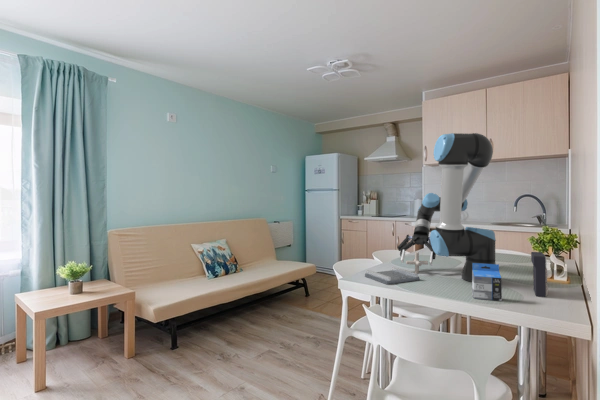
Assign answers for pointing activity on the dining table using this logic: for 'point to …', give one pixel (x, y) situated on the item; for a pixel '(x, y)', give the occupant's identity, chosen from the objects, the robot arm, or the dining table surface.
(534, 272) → the calculator
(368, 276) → the plate
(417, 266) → the pipe connector
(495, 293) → the ink cartridge box
